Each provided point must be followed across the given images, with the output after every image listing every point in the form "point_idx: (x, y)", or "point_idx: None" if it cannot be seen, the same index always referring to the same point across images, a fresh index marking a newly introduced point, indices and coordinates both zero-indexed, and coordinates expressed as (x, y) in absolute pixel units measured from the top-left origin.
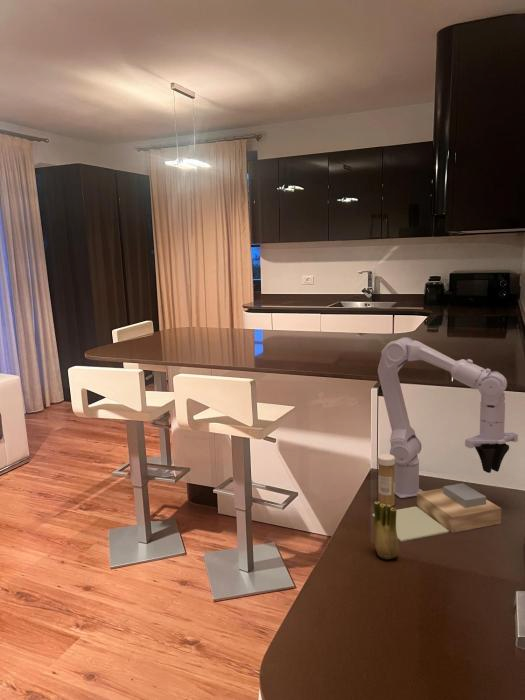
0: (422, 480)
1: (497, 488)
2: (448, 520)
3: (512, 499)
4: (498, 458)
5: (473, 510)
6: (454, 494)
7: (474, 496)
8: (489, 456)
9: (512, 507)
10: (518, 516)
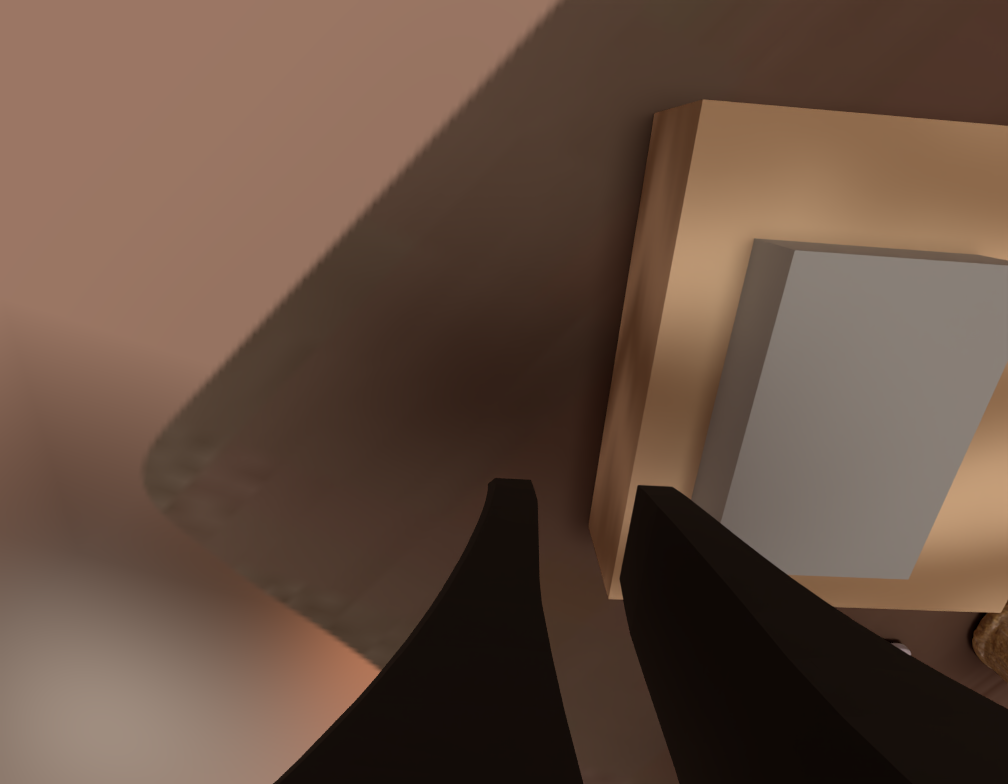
0: (599, 764)
1: (246, 557)
2: None
3: (262, 396)
4: (543, 639)
5: (970, 180)
6: (965, 432)
7: (889, 306)
8: (963, 713)
9: (357, 295)
10: (428, 152)
